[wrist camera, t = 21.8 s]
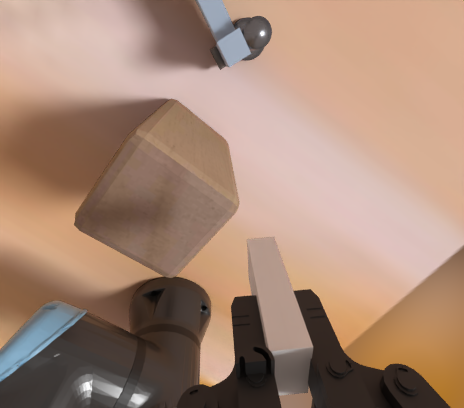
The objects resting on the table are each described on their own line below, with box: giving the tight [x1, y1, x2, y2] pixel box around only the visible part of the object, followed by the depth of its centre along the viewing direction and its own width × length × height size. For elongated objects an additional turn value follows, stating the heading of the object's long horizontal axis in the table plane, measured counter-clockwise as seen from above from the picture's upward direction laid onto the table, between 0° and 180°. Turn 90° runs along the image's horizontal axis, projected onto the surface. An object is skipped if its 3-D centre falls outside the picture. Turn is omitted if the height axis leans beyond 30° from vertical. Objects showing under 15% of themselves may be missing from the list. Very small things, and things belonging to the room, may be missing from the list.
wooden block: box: [74, 99, 239, 278], centre depth 30 cm, size 10×10×20 cm
